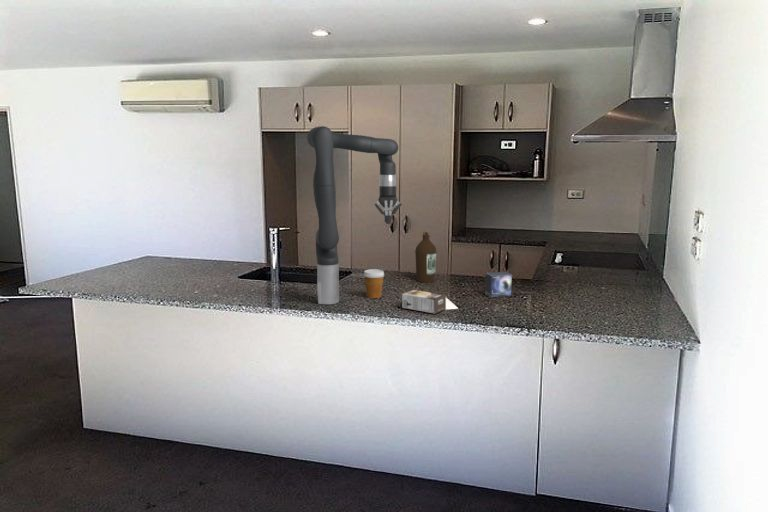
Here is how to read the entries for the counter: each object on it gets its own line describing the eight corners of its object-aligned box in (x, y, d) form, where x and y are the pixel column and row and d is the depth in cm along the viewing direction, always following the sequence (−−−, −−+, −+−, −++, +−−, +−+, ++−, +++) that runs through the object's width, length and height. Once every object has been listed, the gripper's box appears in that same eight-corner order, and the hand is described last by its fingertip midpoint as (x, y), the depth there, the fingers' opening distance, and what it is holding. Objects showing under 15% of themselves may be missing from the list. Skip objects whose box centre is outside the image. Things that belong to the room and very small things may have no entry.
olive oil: (410, 280, 297) (411, 232, 292) (424, 277, 304) (425, 230, 300) (426, 284, 289) (426, 234, 285) (440, 280, 297) (441, 232, 292)
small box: (490, 298, 261) (491, 275, 260) (484, 295, 268) (484, 272, 266) (511, 296, 264) (512, 274, 262) (505, 293, 270) (505, 271, 269)
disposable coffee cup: (360, 295, 267) (360, 270, 265) (380, 293, 270) (380, 268, 268) (367, 300, 258) (367, 274, 256) (387, 298, 262) (387, 272, 259)
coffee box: (413, 289, 250) (446, 294, 241) (413, 303, 251) (446, 309, 242) (401, 293, 243) (435, 299, 234) (401, 308, 244) (435, 314, 235)
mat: (420, 310, 242) (420, 309, 242) (411, 299, 259) (411, 299, 259) (457, 308, 244) (457, 307, 244) (446, 298, 262) (446, 297, 262)
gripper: (374, 185, 254) (374, 225, 258) (404, 185, 257) (403, 224, 260) (371, 184, 262) (372, 223, 265) (400, 184, 264) (400, 222, 267)
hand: (387, 223), depth 262 cm, fingers closed
